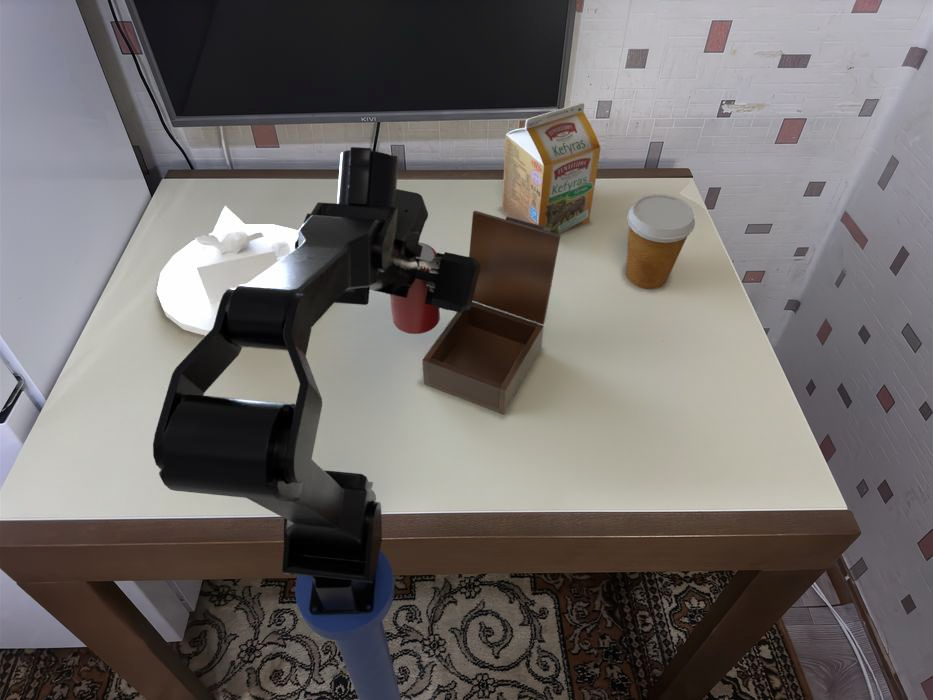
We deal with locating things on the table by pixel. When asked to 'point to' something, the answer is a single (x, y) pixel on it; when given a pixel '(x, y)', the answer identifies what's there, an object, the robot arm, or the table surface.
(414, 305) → the can
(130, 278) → the table surface
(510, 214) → the milk carton
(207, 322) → the dish
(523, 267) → the chest lid
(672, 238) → the disposable coffee cup
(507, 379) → the chest
